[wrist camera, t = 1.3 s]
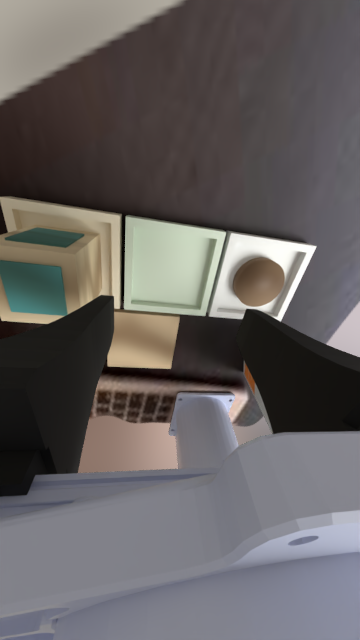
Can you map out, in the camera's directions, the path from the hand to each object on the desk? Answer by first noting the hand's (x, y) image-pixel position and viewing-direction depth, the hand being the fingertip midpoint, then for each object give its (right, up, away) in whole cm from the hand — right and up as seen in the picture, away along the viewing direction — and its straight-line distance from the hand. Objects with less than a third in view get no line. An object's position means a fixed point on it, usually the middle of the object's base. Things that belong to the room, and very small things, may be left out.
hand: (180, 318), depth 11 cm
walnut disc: (+7, +4, +8) cm, 11 cm away
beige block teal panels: (-9, +5, +5) cm, 11 cm away
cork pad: (-4, -2, +11) cm, 12 cm away
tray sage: (-1, +4, +7) cm, 8 cm away
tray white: (+7, +4, +8) cm, 12 cm away
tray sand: (-9, +5, +6) cm, 12 cm away
